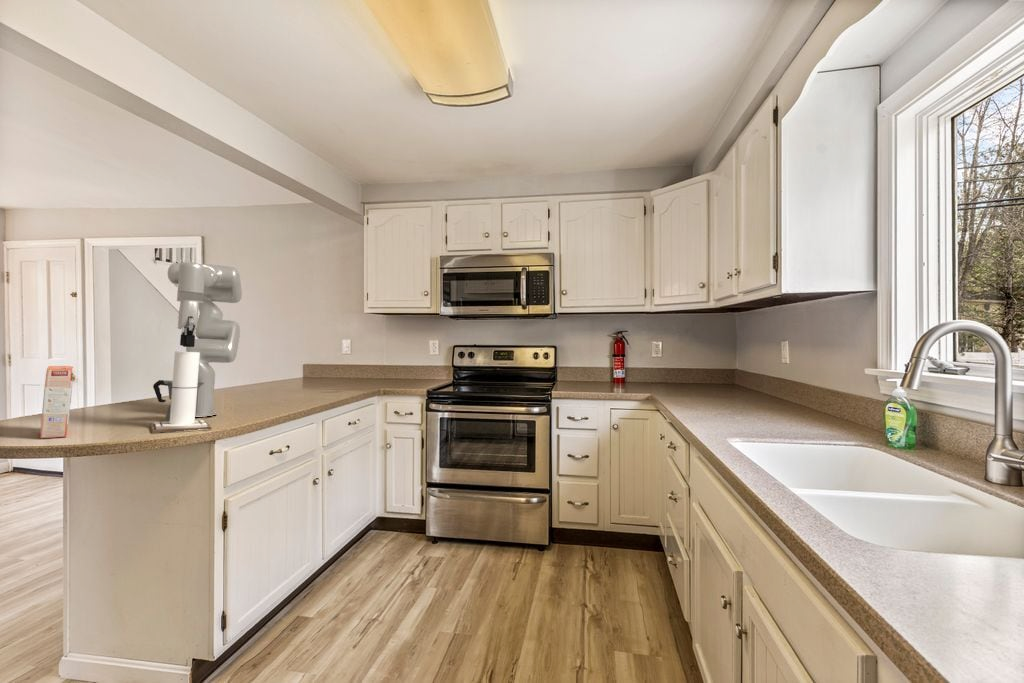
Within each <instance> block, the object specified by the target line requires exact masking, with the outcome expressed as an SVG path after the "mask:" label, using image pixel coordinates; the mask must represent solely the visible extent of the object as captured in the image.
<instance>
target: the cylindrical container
mask: <svg viewBox="0 0 1024 683" xmlns="http://www.w3.org/2000/svg"><path fill="white" fill-rule="evenodd" d="M173 357H174V358H173V359H174V360H173V370H172V371H173V372H172V373H173V374H172V381H173V383H172V397H171V399H170V404H171V410H170V424H173V425H184V424H193V423H195V420H196V418H195V411H196V398H197V384H198V370H199V357H200V352H186V351H174V356H173Z"/></svg>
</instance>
